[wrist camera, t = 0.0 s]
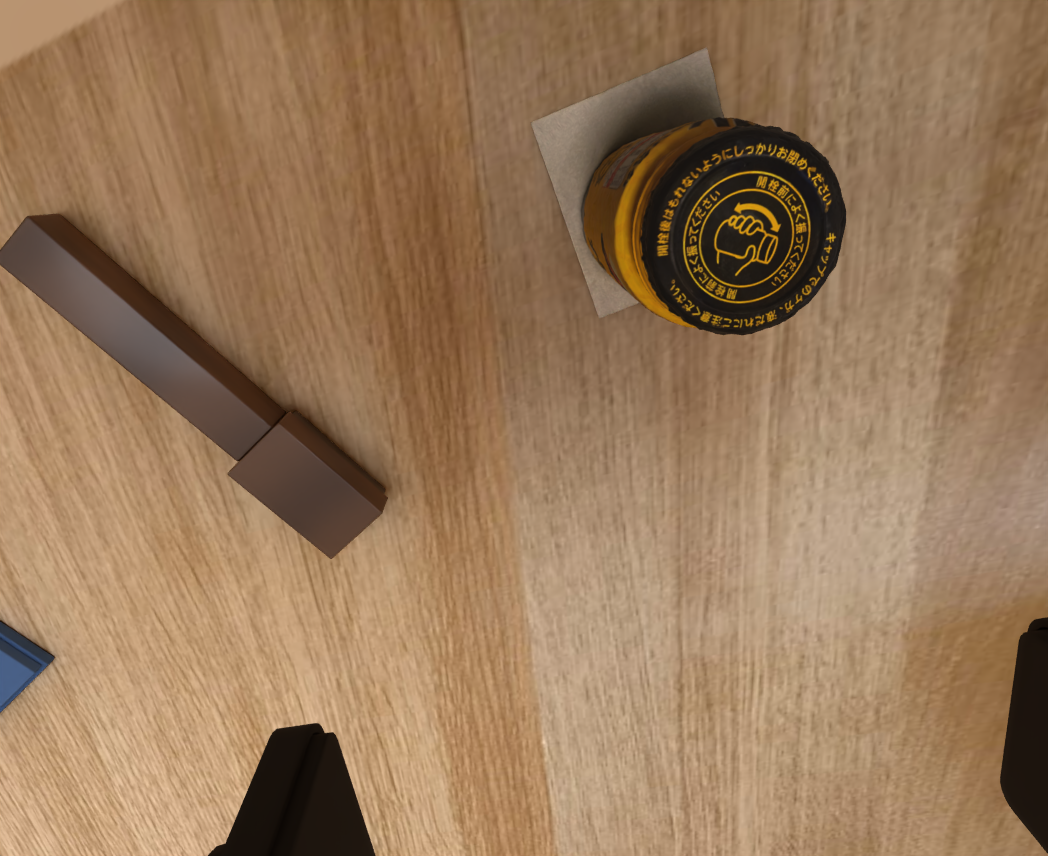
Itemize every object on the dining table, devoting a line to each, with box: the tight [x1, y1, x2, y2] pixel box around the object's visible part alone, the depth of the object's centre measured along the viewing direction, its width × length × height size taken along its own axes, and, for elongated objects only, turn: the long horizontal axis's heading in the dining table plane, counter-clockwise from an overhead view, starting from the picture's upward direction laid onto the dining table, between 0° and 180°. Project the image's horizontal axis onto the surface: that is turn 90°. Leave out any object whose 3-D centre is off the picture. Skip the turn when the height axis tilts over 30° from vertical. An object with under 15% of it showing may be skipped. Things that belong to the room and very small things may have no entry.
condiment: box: [531, 48, 846, 335], centre depth 22 cm, size 7×8×12 cm
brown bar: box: [0, 214, 388, 559], centre depth 29 cm, size 18×4×2 cm, turn 43°
